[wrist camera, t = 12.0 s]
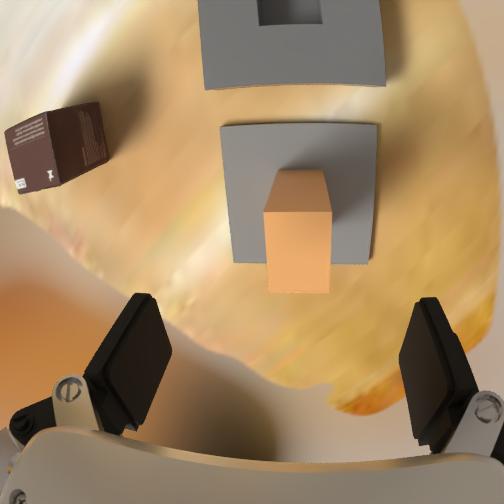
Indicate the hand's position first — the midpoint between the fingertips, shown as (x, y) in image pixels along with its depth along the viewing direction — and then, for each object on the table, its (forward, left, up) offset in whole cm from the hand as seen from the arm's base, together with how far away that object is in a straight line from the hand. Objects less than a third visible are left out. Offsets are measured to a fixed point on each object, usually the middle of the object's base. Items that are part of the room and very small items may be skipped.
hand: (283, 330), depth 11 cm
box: (-6, -20, -17) cm, 27 cm away
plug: (+1, 0, -16) cm, 16 cm away
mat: (+1, 0, -16) cm, 16 cm away
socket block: (-15, 0, -16) cm, 22 cm away
